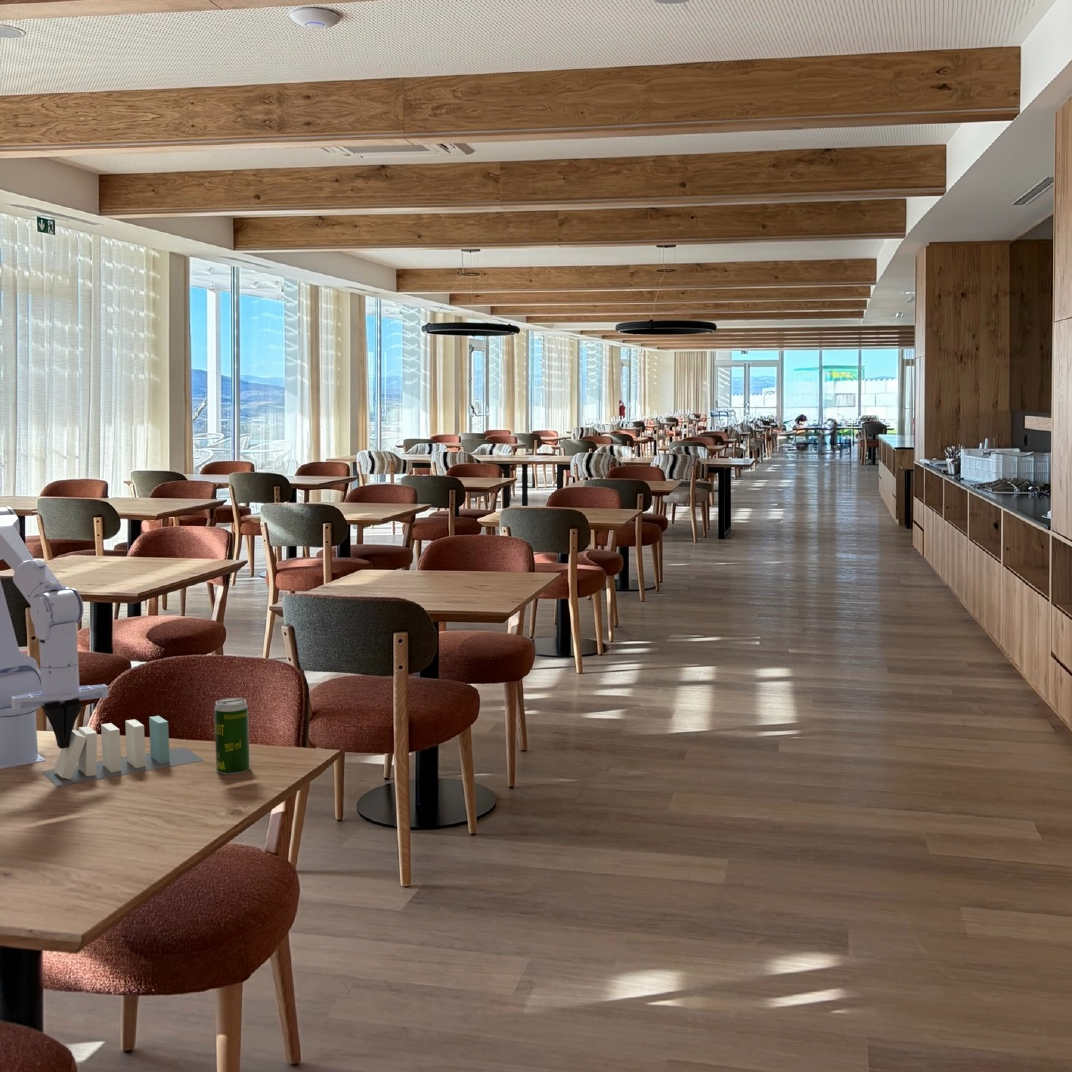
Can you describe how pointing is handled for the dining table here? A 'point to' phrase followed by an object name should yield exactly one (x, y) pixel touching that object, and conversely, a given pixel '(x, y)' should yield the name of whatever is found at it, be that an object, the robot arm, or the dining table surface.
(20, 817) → the dining table surface
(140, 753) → the ivory domino
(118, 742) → the ivory domino
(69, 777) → the ivory domino
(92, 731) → the ivory domino
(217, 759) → the green drink can
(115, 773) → the charcoal mat
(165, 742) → the teal domino
